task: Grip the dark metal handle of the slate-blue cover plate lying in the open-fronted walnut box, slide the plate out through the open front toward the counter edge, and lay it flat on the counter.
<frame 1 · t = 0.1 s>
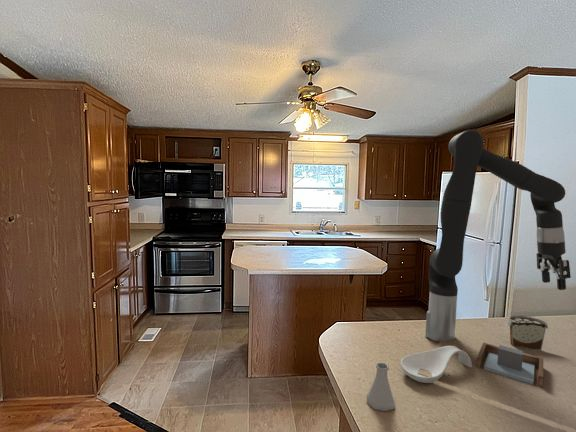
hand: (553, 285, 114), 22 cm above the countertop, tool pointing down, fingers open, 8 cm apart
flask: (380, 403, 84), on the countertop
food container: (521, 345, 117), on the countertop
spoon rest: (436, 374, 98), on the countertop
cover plate: (509, 368, 99), point 1 cm above the countertop, touching open-fronted box
open-fronted box: (508, 371, 99), on the countertop
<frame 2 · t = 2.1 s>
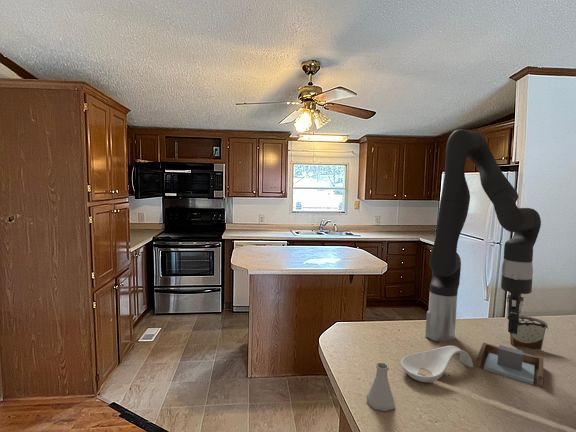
hand: (513, 328, 98), 14 cm above the countertop, tool pointing down, fingers open, 8 cm apart
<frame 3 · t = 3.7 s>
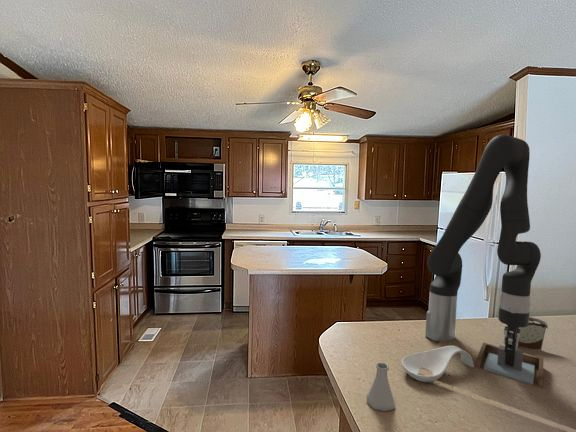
hand: (509, 362, 99), 3 cm above the countertop, tool pointing down, fingers closed on cover plate, 3 cm apart
cover plate: (509, 368, 99), point 1 cm above the countertop, touching gripper, open-fronted box
everything else where it was.
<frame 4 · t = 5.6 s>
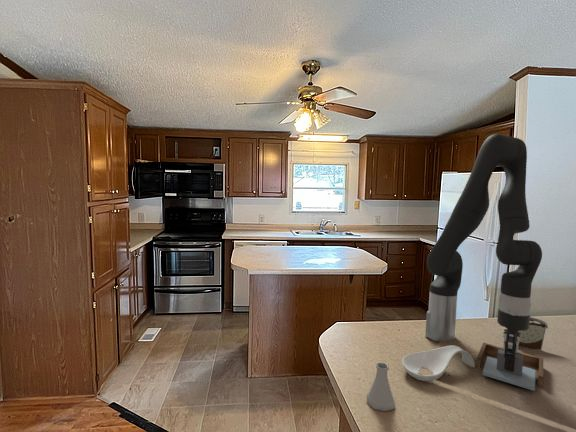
hand: (509, 367, 94), 4 cm above the countertop, tool pointing down, fingers closed on cover plate, 3 cm apart
cover plate: (508, 373, 95), point 2 cm above the countertop, touching gripper
everything else where it was.
when the fingers open (3 cm above the countertop, at t = 7.6 s): cover plate drops 1 cm, on the countertop.
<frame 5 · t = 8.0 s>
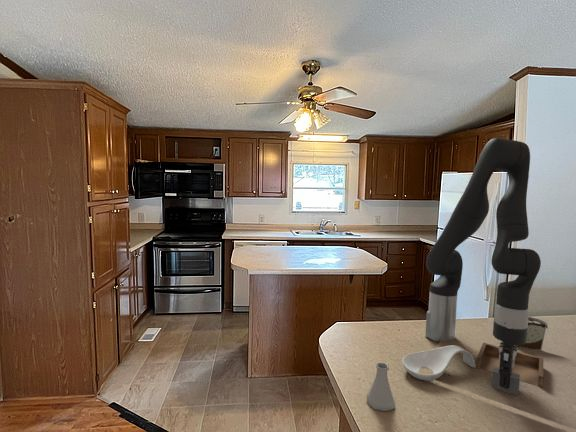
hand: (505, 380, 89), 3 cm above the countertop, tool pointing down, fingers open, 7 cm apart
cover plate: (504, 393, 89), on the countertop
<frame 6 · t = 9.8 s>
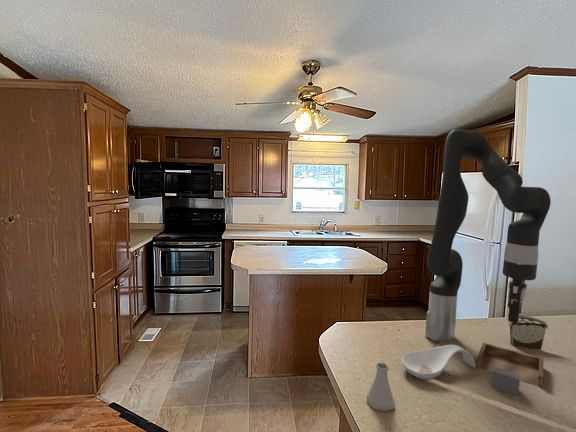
hand: (514, 317, 91), 20 cm above the countertop, tool pointing down, fingers open, 8 cm apart
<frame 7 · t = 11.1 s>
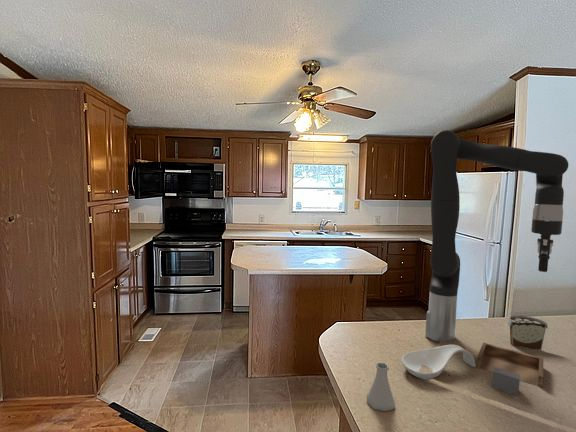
hand: (542, 269, 105), 30 cm above the countertop, tool pointing down, fingers open, 8 cm apart
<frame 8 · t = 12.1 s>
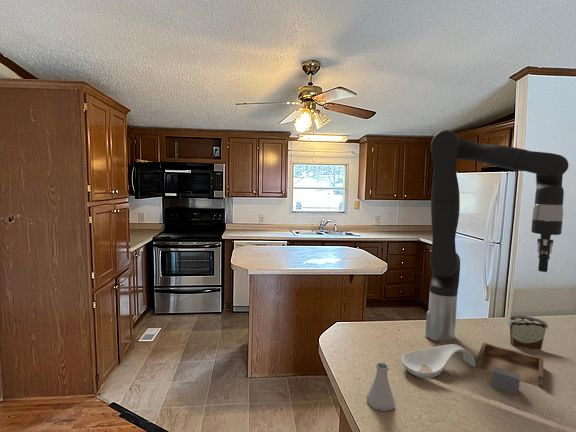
hand: (542, 269, 105), 30 cm above the countertop, tool pointing down, fingers open, 8 cm apart
at the end: cover plate inside the target area (0.1 cm from its centre), on the countertop; cover plate tilted 0°; the gripper is holding nothing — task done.
